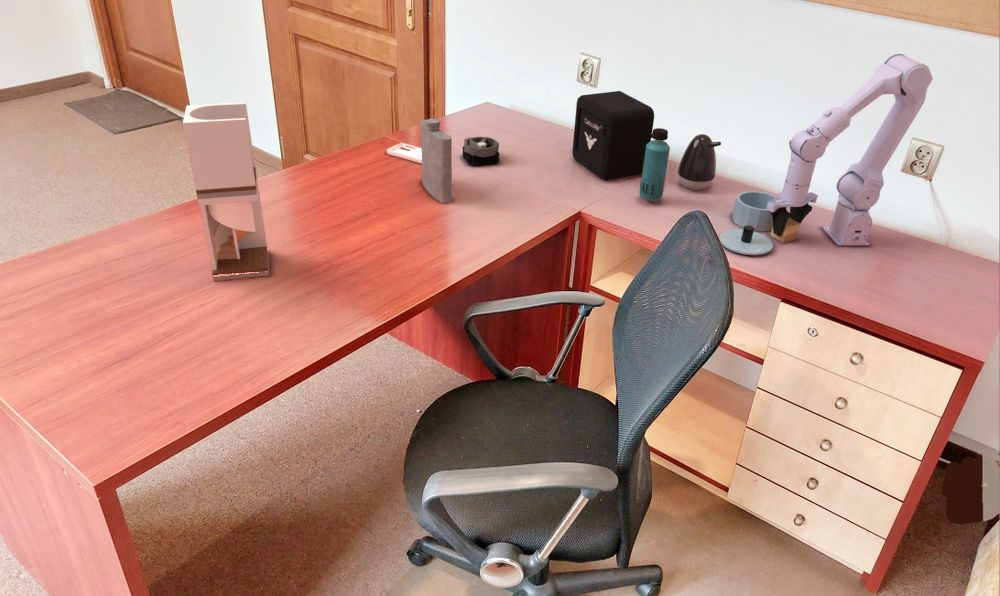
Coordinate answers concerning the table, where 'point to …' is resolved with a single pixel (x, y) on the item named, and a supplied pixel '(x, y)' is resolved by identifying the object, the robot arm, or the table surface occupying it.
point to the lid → (746, 241)
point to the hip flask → (436, 160)
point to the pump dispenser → (698, 163)
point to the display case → (227, 188)
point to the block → (788, 231)
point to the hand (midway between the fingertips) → (784, 232)
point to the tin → (753, 210)
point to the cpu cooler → (481, 151)
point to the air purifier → (612, 134)
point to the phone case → (406, 152)
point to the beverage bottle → (655, 166)
